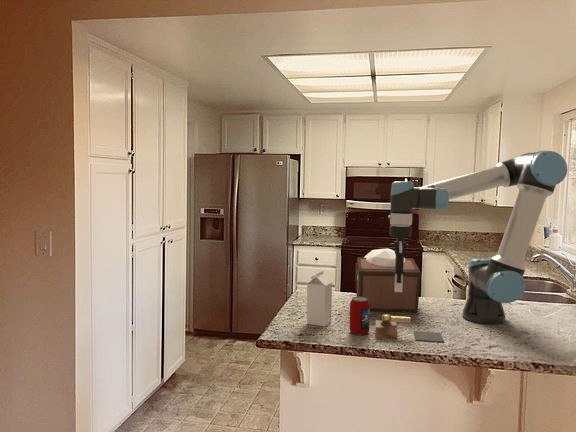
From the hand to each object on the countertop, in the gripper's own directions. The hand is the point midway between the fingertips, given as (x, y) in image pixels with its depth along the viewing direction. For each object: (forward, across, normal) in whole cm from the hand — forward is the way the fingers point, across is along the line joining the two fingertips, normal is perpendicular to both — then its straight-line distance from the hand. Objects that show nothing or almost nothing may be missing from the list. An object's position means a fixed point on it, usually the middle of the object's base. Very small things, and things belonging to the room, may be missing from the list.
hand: (398, 291), depth 165 cm
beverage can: (+14, +8, -13) cm, 20 cm away
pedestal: (+13, +8, -4) cm, 16 cm away
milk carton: (+14, 0, -28) cm, 31 cm away
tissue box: (+14, -32, -4) cm, 35 cm away
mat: (+13, +8, +10) cm, 18 cm away
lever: (+9, +8, -1) cm, 12 cm away
